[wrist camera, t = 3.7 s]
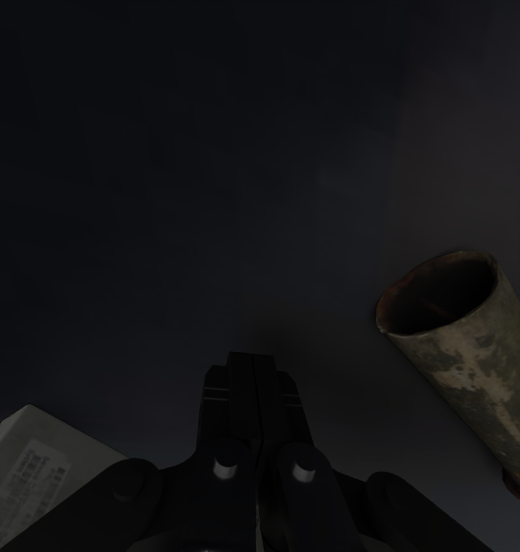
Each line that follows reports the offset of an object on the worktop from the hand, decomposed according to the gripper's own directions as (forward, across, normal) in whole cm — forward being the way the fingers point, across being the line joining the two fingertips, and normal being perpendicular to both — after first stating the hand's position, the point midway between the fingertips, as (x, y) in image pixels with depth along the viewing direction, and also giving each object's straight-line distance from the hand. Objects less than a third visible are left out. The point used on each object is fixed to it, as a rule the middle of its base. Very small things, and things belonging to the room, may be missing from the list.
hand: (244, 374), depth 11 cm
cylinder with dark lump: (+4, -14, +1) cm, 15 cm away
